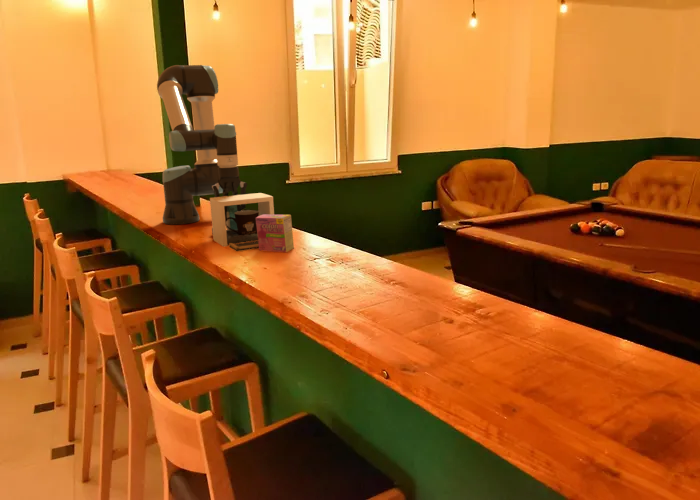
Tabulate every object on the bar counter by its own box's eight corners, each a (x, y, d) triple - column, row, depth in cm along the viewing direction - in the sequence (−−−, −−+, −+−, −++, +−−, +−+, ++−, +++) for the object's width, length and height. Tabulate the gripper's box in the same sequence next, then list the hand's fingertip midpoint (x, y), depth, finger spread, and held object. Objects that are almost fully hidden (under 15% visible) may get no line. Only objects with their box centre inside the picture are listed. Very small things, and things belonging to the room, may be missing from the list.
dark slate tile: (229, 246, 193) (229, 243, 192) (272, 240, 200) (272, 237, 200) (236, 251, 186) (236, 247, 185) (281, 244, 193) (281, 241, 193)
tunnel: (213, 240, 203) (209, 197, 199) (263, 233, 212) (261, 192, 208) (223, 246, 193) (219, 202, 189) (275, 239, 202) (273, 196, 198)
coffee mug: (263, 236, 206) (261, 210, 204) (257, 242, 198) (255, 214, 195) (232, 237, 207) (230, 210, 205) (225, 242, 199) (222, 214, 197)
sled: (212, 234, 212) (209, 200, 209) (250, 229, 219) (248, 196, 216) (228, 244, 195) (225, 207, 192) (269, 238, 202) (266, 203, 199)
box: (258, 251, 187) (255, 217, 183) (267, 247, 192) (263, 213, 189) (286, 253, 183) (283, 218, 180) (294, 248, 188) (291, 214, 185)
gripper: (209, 168, 201) (215, 232, 206) (252, 165, 208) (256, 227, 214) (203, 167, 207) (209, 229, 213) (245, 164, 214) (249, 224, 220)
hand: (233, 228), depth 213 cm, fingers closed on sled, 3 cm apart
